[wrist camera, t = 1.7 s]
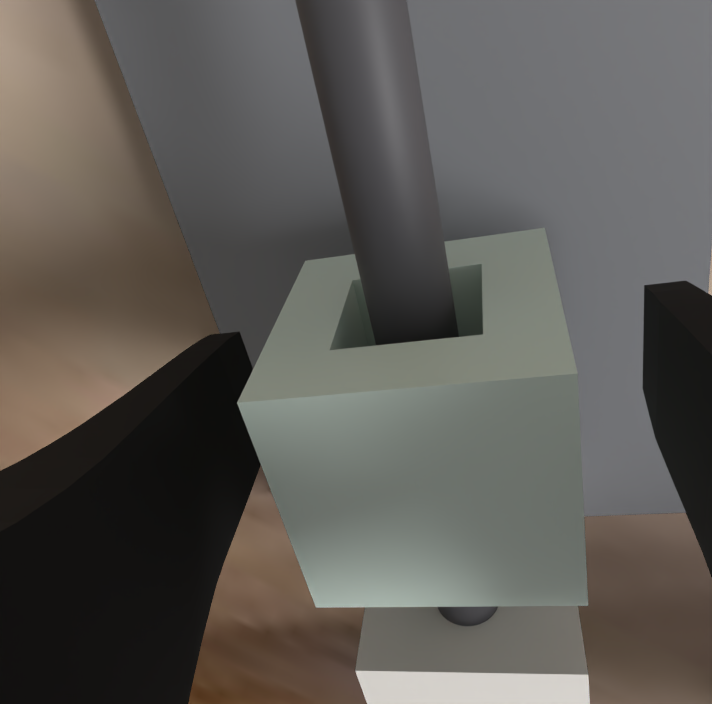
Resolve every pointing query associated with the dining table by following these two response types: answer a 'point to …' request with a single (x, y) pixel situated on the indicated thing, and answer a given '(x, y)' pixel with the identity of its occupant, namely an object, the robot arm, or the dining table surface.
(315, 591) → the marker sleeve
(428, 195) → the cord rig
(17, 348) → the dining table surface
